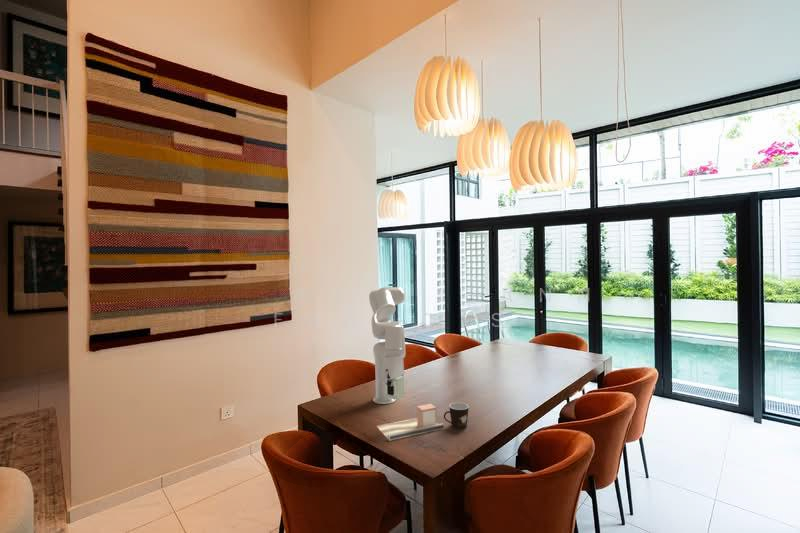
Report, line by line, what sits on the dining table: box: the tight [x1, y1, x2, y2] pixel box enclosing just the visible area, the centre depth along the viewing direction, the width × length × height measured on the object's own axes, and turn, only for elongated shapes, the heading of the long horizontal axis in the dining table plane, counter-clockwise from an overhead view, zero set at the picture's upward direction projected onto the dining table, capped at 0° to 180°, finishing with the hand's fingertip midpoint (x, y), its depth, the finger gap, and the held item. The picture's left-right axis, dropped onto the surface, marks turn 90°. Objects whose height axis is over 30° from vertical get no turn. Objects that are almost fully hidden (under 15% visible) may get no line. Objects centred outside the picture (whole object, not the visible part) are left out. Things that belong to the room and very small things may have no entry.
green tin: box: [385, 375, 405, 401], centre depth 168 cm, size 7×5×9 cm
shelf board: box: [376, 417, 445, 442], centre depth 168 cm, size 16×26×3 cm, turn 113°
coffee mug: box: [443, 402, 470, 430], centre depth 168 cm, size 12×9×10 cm
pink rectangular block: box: [416, 403, 437, 428], centre depth 168 cm, size 7×5×9 cm
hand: (394, 392), depth 168 cm, fingers closed on green tin, 5 cm apart
